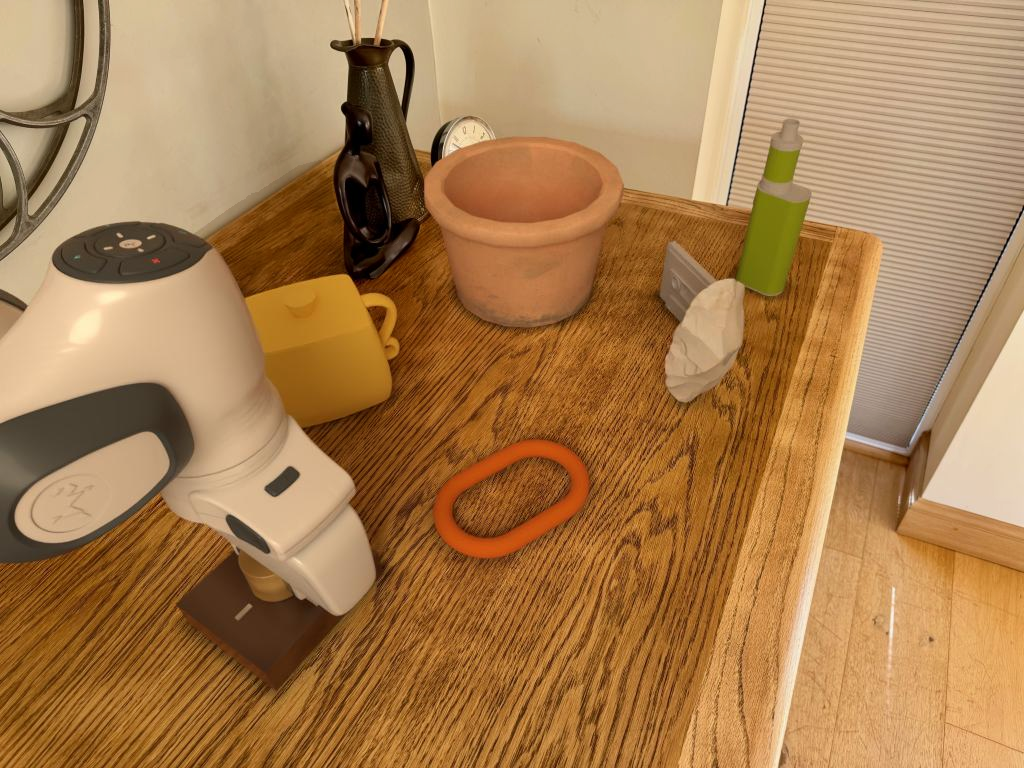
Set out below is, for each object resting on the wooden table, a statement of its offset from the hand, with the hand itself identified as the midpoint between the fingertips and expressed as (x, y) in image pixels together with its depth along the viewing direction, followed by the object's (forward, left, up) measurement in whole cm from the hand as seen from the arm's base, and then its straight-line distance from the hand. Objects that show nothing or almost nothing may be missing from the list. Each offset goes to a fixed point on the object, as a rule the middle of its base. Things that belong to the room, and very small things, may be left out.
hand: (277, 570), depth 56 cm
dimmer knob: (0, 0, -1) cm, 1 cm away
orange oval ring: (+18, -10, -4) cm, 21 cm away
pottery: (+46, +7, -4) cm, 47 cm away
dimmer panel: (0, 0, -4) cm, 4 cm away
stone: (+39, -19, -4) cm, 44 cm away
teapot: (+19, +16, -4) cm, 25 cm away
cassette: (+50, -13, -4) cm, 52 cm away
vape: (+62, -17, -4) cm, 64 cm away
